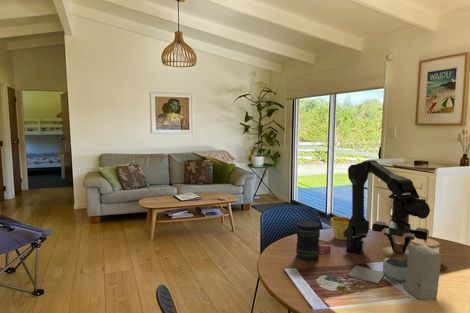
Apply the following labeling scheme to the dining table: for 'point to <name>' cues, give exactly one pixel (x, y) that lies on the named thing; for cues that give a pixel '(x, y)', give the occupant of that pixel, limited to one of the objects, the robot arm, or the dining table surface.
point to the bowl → (395, 268)
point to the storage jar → (308, 240)
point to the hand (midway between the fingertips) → (398, 251)
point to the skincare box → (423, 272)
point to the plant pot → (339, 226)
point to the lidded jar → (427, 243)
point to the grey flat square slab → (366, 274)
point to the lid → (396, 252)
